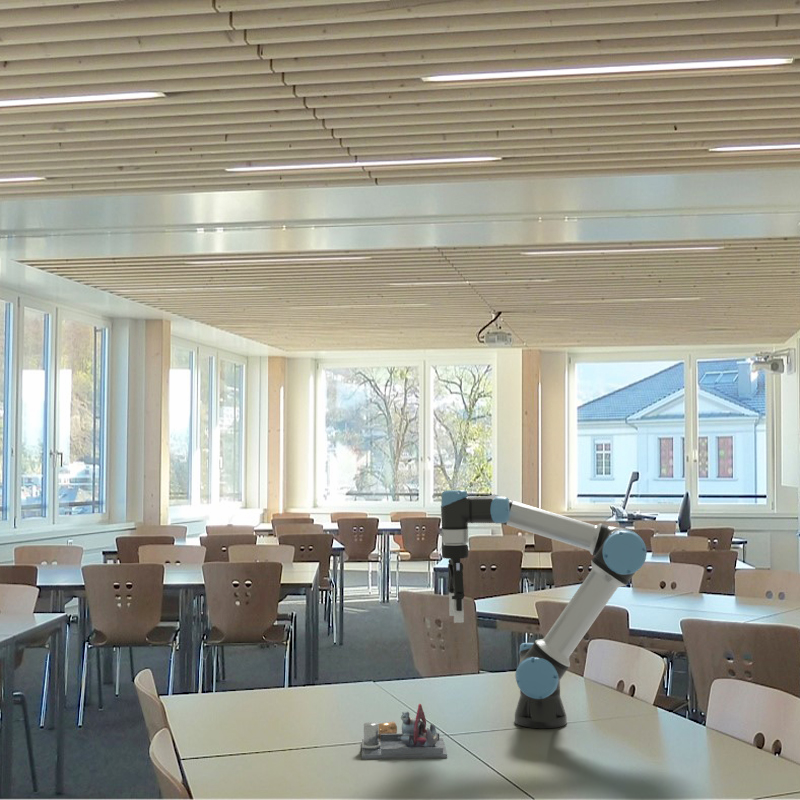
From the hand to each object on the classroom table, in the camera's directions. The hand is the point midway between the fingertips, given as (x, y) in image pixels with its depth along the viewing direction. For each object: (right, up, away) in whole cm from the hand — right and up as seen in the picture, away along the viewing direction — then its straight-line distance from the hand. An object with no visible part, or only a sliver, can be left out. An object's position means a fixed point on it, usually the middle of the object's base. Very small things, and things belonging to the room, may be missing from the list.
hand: (456, 619), depth 308 cm
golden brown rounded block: (-21, -31, -6) cm, 38 cm away
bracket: (-15, -30, -22) cm, 40 cm away
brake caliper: (-11, -30, -21) cm, 38 cm away
